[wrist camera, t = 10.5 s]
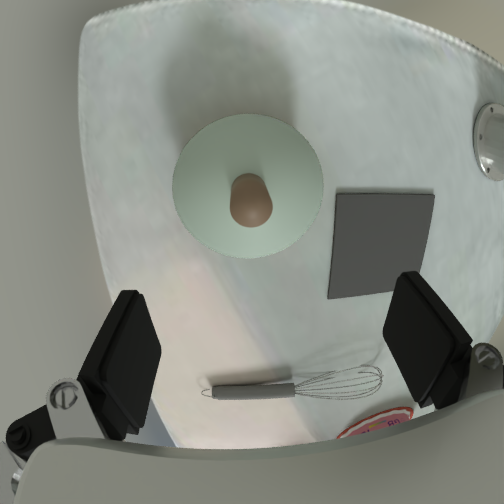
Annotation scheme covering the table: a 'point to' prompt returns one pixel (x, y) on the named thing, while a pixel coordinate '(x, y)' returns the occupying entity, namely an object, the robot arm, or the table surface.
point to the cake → (379, 421)
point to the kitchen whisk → (277, 389)
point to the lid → (247, 186)
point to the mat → (377, 241)
